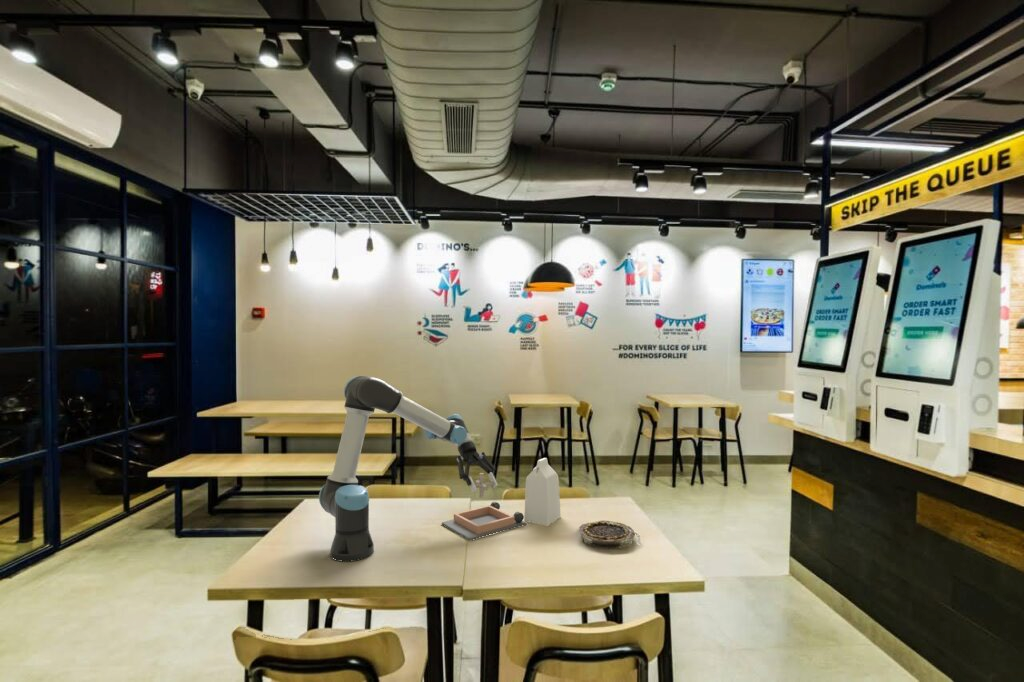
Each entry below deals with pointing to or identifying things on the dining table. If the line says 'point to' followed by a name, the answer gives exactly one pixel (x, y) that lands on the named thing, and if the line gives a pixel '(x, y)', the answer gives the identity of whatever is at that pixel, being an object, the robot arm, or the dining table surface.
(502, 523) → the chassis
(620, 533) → the pie
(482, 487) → the pipe connector
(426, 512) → the dining table surface
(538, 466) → the milk
